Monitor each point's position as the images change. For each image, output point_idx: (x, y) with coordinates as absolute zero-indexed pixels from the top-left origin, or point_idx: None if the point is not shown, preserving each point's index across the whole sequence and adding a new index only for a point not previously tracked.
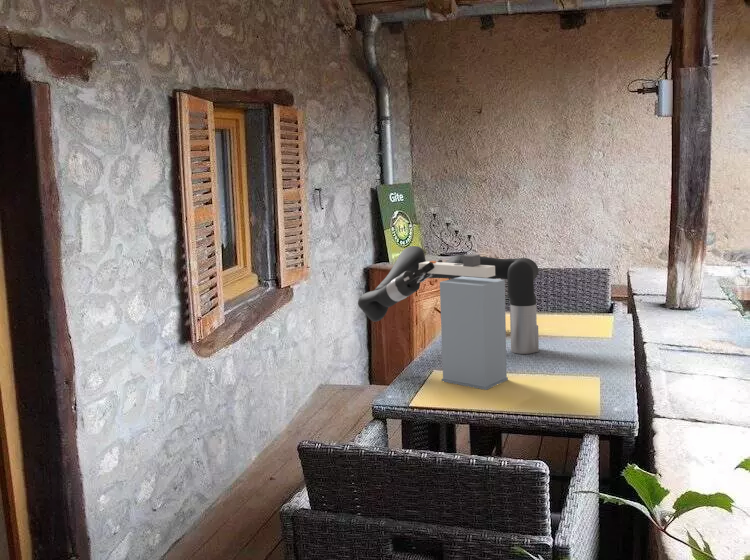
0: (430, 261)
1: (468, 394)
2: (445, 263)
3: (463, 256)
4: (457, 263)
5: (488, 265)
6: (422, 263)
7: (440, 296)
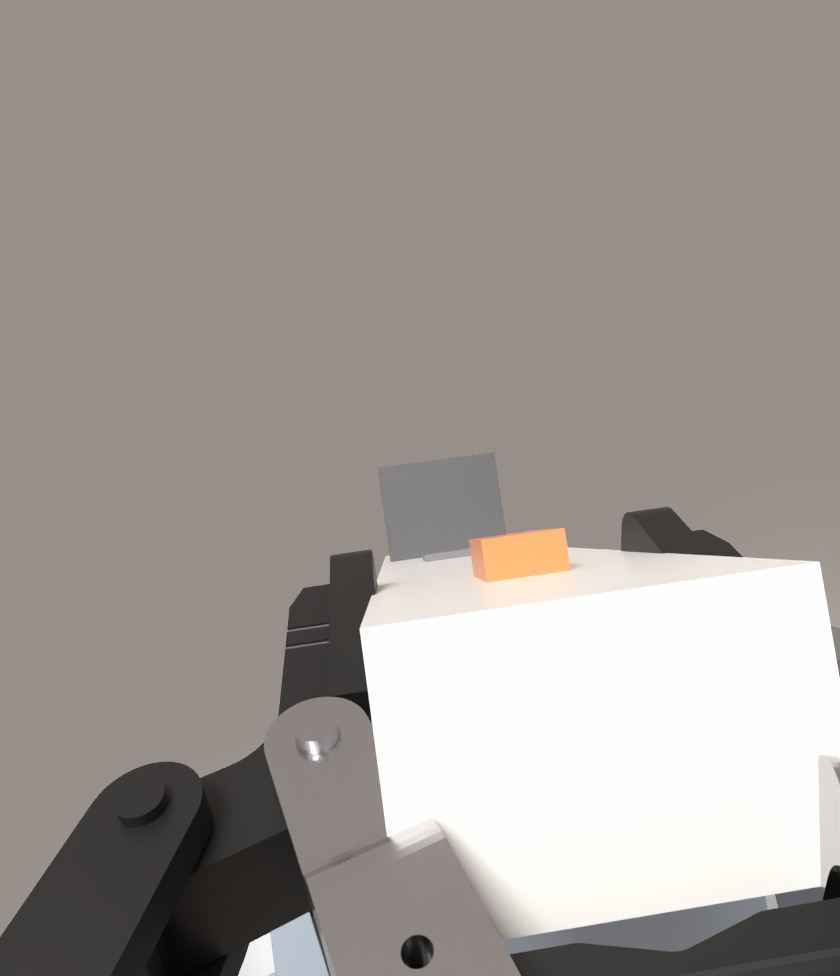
0: (558, 533)
1: None
2: (454, 566)
3: (493, 458)
4: (427, 554)
5: (387, 557)
6: (740, 557)
7: (764, 901)
